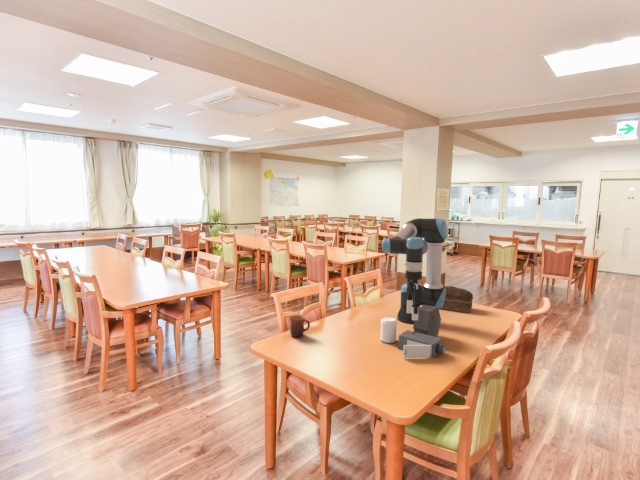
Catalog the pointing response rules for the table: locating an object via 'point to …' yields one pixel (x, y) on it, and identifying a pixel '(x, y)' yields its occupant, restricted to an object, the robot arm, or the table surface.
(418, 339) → the camcorder
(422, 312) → the grey bevelled block
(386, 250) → the robot arm
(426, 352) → the door
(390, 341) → the beverage can
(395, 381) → the table surface
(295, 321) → the mug
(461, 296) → the bread
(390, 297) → the table surface
